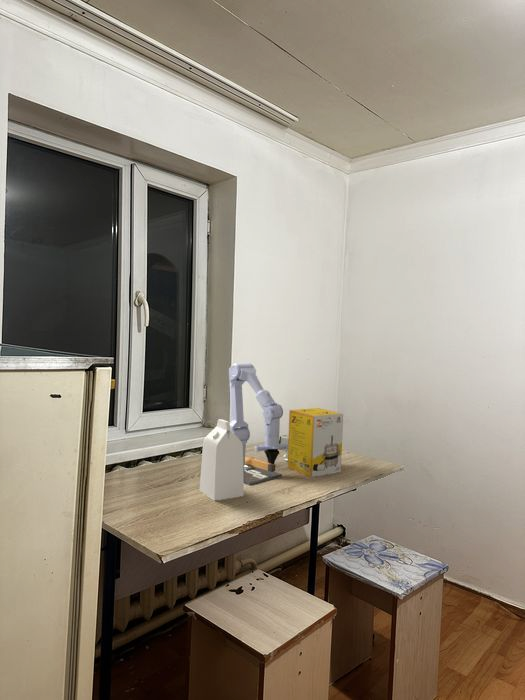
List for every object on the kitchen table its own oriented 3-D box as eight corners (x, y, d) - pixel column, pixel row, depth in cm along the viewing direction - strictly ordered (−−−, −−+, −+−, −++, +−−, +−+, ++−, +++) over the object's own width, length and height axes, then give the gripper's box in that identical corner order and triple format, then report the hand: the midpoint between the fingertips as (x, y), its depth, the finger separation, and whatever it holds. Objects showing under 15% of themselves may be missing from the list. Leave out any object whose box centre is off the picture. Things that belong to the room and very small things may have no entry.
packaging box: (315, 462, 214) (317, 407, 213) (340, 472, 200) (343, 413, 199) (287, 467, 204) (289, 410, 204) (311, 477, 191) (313, 416, 190)
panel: (215, 473, 192) (215, 468, 192) (247, 465, 205) (248, 461, 205) (249, 485, 178) (249, 480, 178) (281, 476, 191) (282, 471, 191)
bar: (242, 463, 199) (242, 457, 199) (249, 462, 201) (249, 456, 201) (269, 472, 187) (270, 466, 187) (276, 470, 190) (277, 464, 190)
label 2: (252, 475, 187) (252, 475, 187) (258, 474, 189) (258, 473, 189) (261, 478, 183) (261, 478, 183) (267, 477, 186) (267, 476, 186)
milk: (243, 495, 166) (246, 422, 165) (214, 501, 160) (216, 424, 159) (227, 486, 176) (229, 416, 176) (199, 490, 170) (201, 418, 169)
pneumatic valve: (297, 464, 210) (298, 437, 210) (276, 459, 217) (277, 433, 217) (304, 462, 214) (305, 435, 214) (283, 457, 222) (284, 431, 221)
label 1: (246, 472, 192) (246, 471, 192) (252, 470, 194) (252, 469, 194) (254, 474, 188) (254, 473, 188) (261, 473, 191) (261, 472, 191)
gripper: (260, 437, 186) (259, 471, 186) (292, 435, 192) (291, 468, 192) (252, 434, 192) (251, 467, 192) (284, 431, 198) (283, 464, 199)
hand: (271, 467), depth 193 cm, fingers closed
